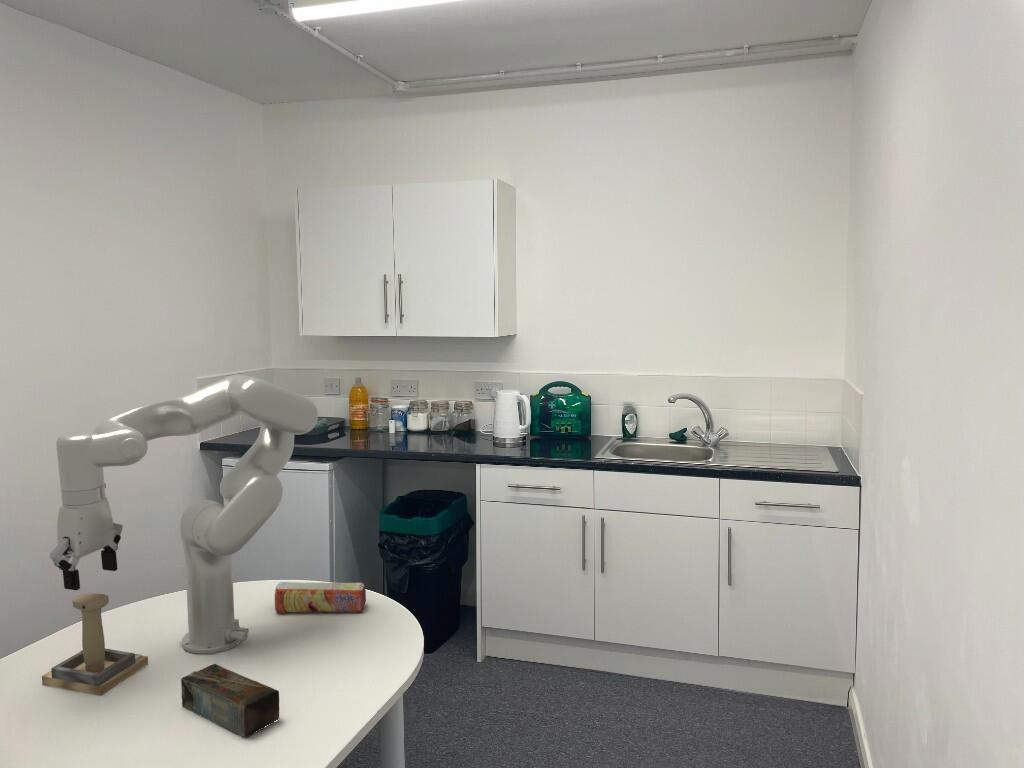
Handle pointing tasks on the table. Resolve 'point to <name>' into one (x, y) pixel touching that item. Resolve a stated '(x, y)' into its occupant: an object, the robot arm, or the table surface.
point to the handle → (92, 629)
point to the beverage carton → (230, 699)
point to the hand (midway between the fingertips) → (91, 579)
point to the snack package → (320, 597)
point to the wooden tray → (98, 683)
